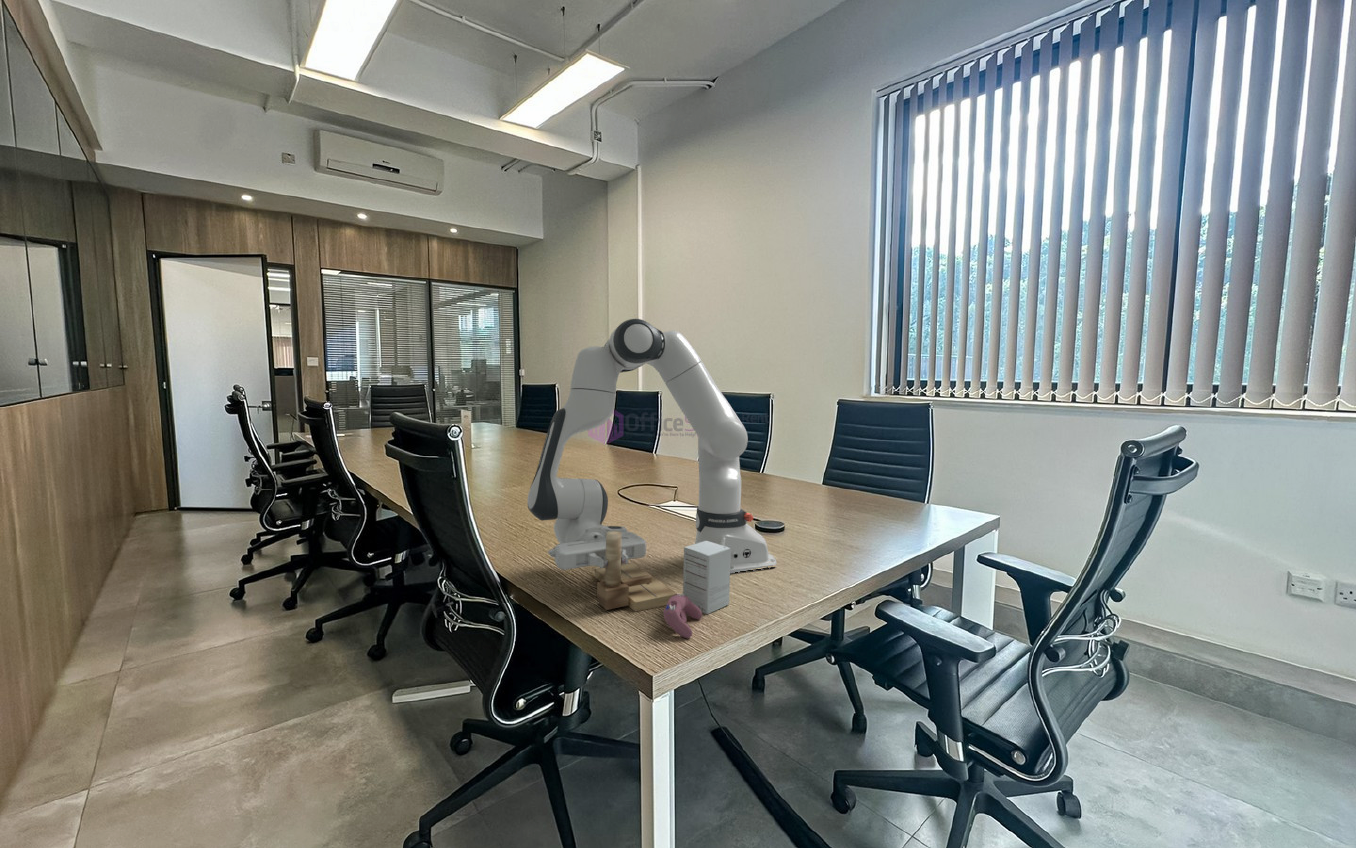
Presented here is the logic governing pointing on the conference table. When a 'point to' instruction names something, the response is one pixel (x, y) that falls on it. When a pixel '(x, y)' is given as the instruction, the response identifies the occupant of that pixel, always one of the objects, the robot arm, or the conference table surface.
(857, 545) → the conference table surface
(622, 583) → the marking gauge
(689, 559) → the supplement box
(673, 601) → the video game controller
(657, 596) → the board
